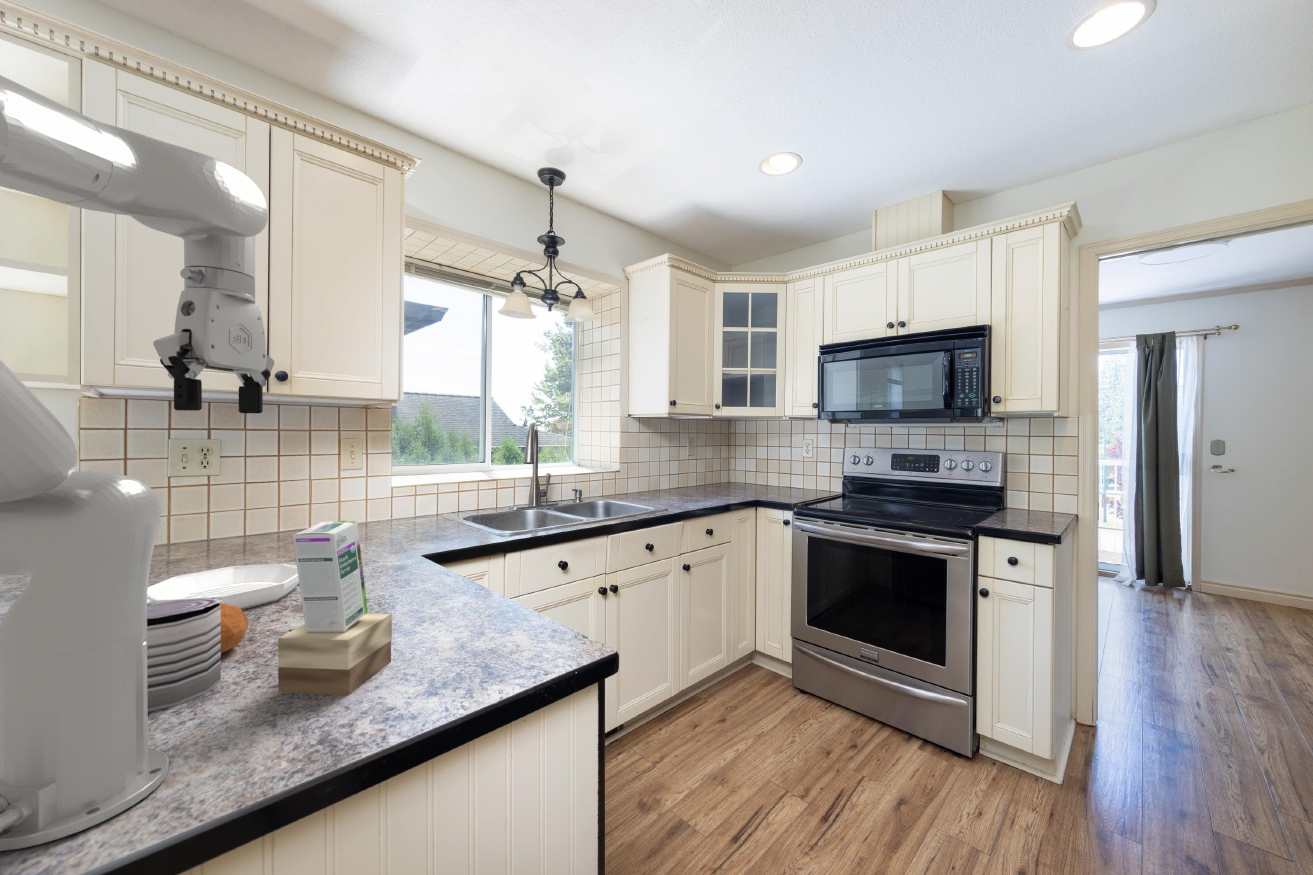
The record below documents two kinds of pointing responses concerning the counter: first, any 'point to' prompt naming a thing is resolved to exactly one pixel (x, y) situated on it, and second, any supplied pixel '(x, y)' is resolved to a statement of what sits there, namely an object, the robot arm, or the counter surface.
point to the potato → (232, 626)
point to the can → (182, 650)
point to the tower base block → (333, 676)
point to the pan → (229, 585)
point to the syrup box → (330, 576)
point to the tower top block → (335, 644)
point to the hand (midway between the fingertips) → (221, 411)
